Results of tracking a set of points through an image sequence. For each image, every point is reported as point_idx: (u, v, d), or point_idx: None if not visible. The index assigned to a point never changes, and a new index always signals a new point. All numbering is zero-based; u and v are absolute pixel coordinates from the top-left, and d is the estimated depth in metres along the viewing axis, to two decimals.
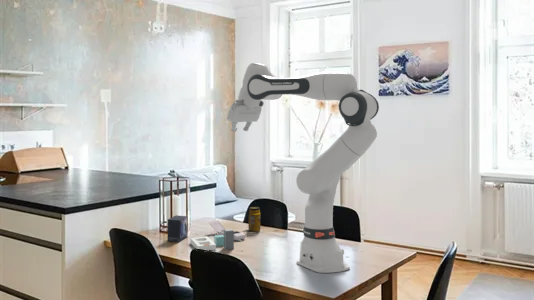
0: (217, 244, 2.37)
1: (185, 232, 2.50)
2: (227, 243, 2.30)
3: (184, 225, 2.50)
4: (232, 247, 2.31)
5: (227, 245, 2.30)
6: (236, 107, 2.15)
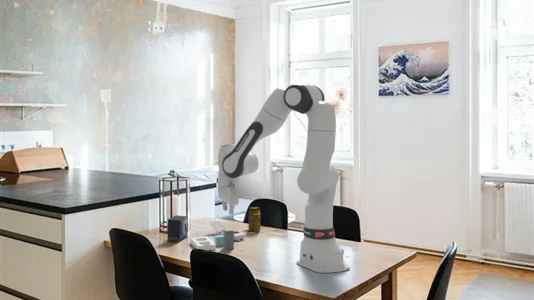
0: (217, 244, 2.37)
1: (185, 232, 2.50)
2: (227, 243, 2.30)
3: (184, 225, 2.50)
4: (232, 247, 2.31)
5: (227, 245, 2.30)
6: (236, 190, 2.22)
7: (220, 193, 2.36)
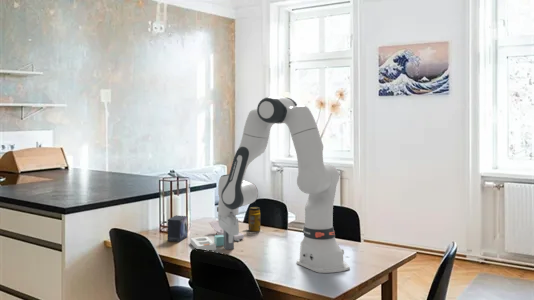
0: (217, 244, 2.37)
1: (185, 232, 2.50)
2: (227, 243, 2.30)
3: (184, 225, 2.50)
4: (232, 247, 2.31)
5: (227, 245, 2.30)
6: (236, 220, 2.23)
7: (220, 222, 2.37)
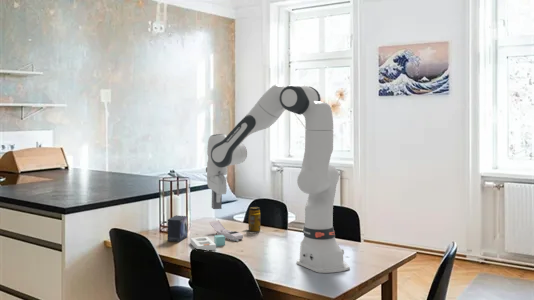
0: (217, 244, 2.37)
1: (185, 232, 2.50)
2: (215, 203, 2.32)
3: (184, 225, 2.50)
4: (220, 207, 2.33)
5: (215, 205, 2.32)
6: (224, 179, 2.25)
7: (209, 182, 2.39)
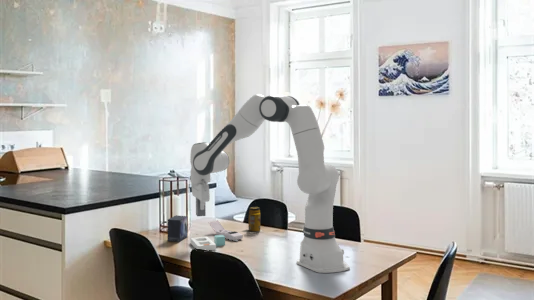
0: (217, 244, 2.37)
1: (185, 232, 2.50)
2: (199, 210, 2.36)
3: (184, 225, 2.50)
4: (204, 214, 2.37)
5: (199, 212, 2.36)
6: (207, 187, 2.29)
7: (193, 190, 2.43)
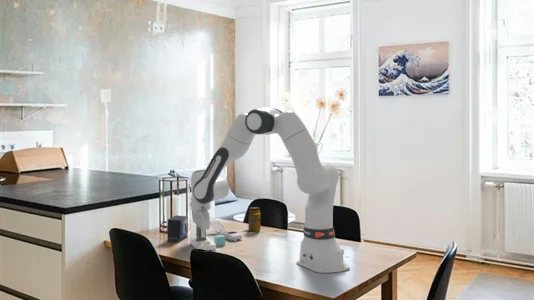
0: (217, 244, 2.37)
1: (185, 232, 2.50)
2: (199, 240, 2.37)
3: (184, 225, 2.50)
4: None
5: None
6: (208, 215, 2.29)
7: (194, 216, 2.43)
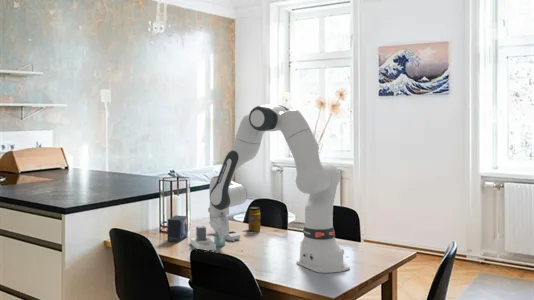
0: (217, 244, 2.37)
1: (185, 232, 2.50)
2: (199, 240, 2.37)
3: (184, 225, 2.50)
4: None
5: None
6: (227, 220, 2.30)
7: (212, 222, 2.44)
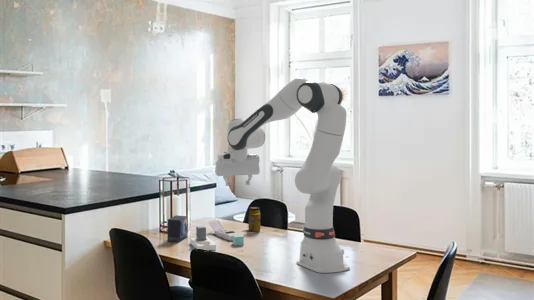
0: None
1: (185, 232, 2.50)
2: (199, 240, 2.37)
3: (184, 225, 2.50)
4: None
5: None
6: None
7: (225, 169, 2.33)
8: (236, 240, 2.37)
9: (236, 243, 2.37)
